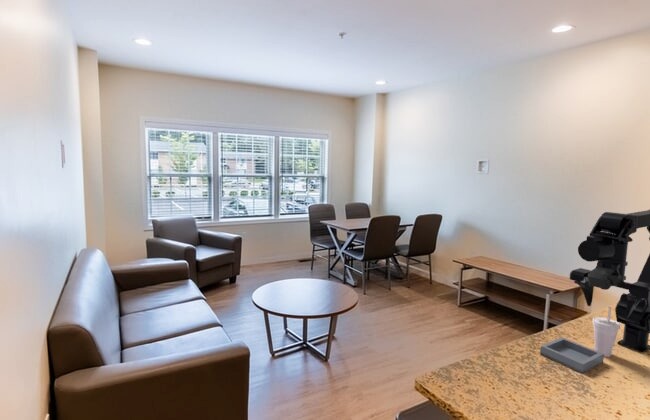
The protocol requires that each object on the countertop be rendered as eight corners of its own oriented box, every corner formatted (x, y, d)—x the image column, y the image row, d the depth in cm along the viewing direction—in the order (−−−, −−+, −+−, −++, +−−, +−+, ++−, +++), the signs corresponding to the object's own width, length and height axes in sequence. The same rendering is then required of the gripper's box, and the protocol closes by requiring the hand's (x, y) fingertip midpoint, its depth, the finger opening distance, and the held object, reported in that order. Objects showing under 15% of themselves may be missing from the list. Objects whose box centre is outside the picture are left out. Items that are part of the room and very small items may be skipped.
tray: (561, 345, 110) (562, 337, 110) (603, 362, 100) (604, 353, 100) (540, 354, 105) (540, 345, 104) (582, 373, 95) (583, 364, 95)
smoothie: (621, 360, 101) (627, 312, 100) (596, 357, 103) (601, 310, 101) (609, 349, 108) (614, 303, 106) (584, 346, 109) (589, 302, 107)
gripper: (561, 254, 105) (557, 305, 107) (642, 270, 89) (635, 331, 91) (581, 249, 111) (577, 298, 113) (660, 264, 95) (653, 321, 97)
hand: (607, 311), depth 103 cm, fingers open, 9 cm apart
